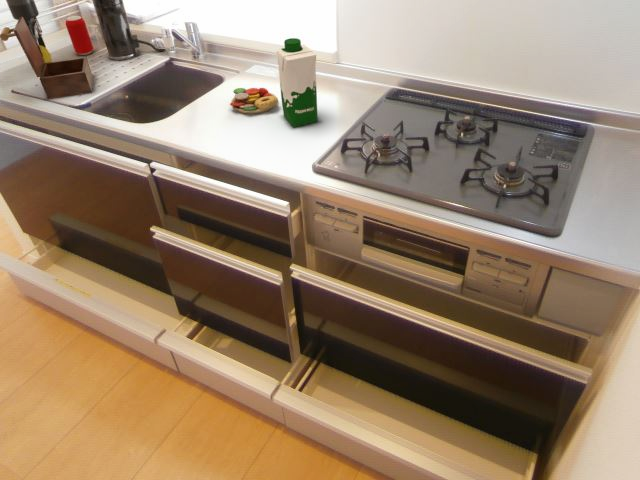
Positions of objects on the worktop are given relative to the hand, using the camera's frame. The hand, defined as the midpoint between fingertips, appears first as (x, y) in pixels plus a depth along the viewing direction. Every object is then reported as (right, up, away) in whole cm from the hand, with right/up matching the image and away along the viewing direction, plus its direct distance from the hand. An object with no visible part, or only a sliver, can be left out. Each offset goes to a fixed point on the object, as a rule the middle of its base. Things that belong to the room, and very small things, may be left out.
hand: (41, 53), depth 167 cm
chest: (+15, -14, -10) cm, 23 cm away
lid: (+8, -5, -20) cm, 22 cm away
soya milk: (+87, -30, -32) cm, 97 cm away
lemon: (0, -4, +3) cm, 5 cm away
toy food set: (+74, -24, -24) cm, 81 cm away
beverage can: (+9, +5, +13) cm, 16 cm away
